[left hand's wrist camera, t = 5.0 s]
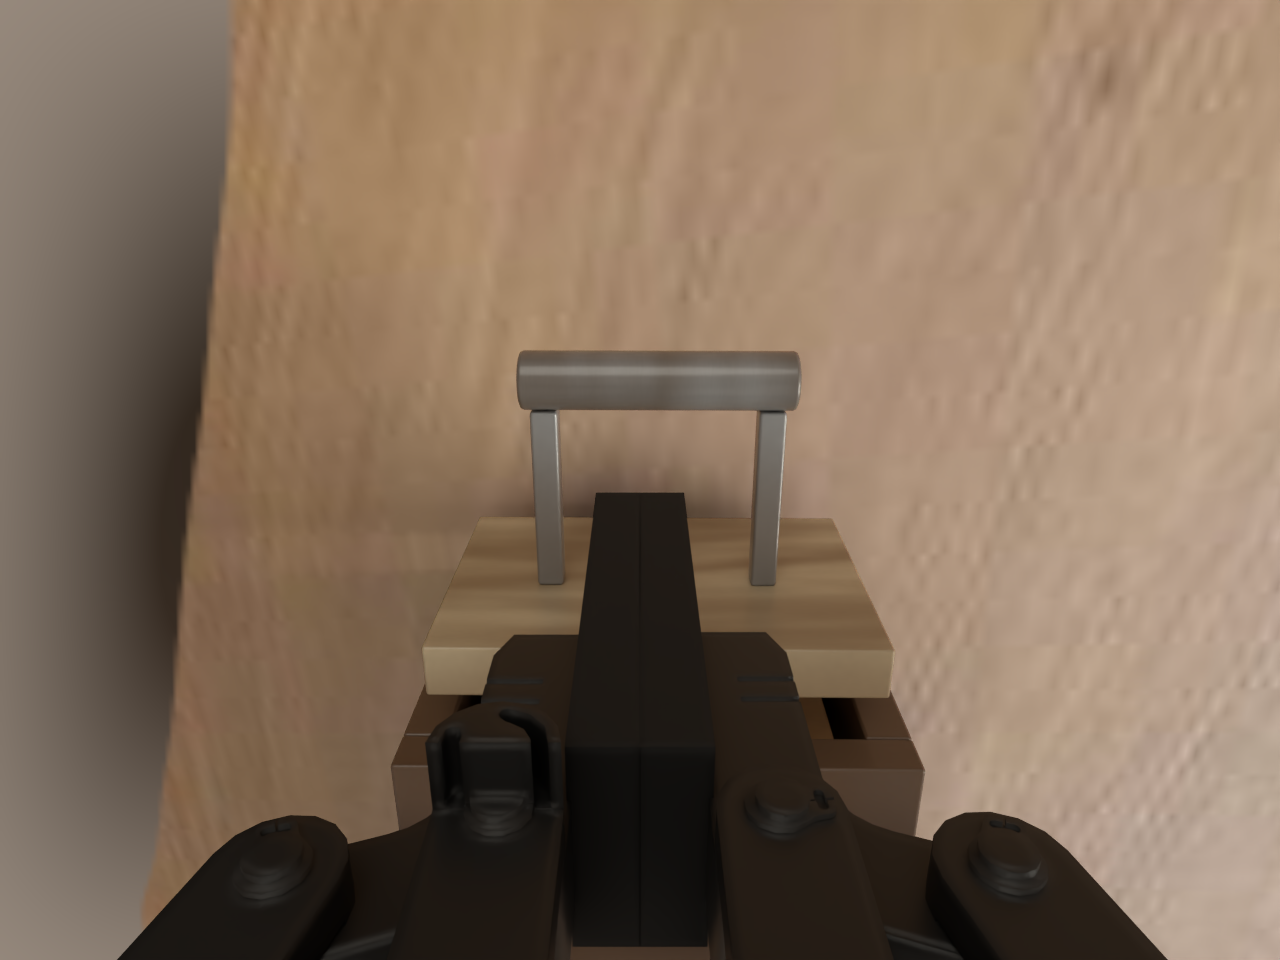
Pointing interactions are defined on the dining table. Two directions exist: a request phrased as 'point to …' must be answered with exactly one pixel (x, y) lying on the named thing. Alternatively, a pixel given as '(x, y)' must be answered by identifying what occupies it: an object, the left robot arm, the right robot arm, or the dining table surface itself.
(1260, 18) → the dining table surface
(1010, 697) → the dining table surface
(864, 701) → the brown box
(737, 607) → the drawer
